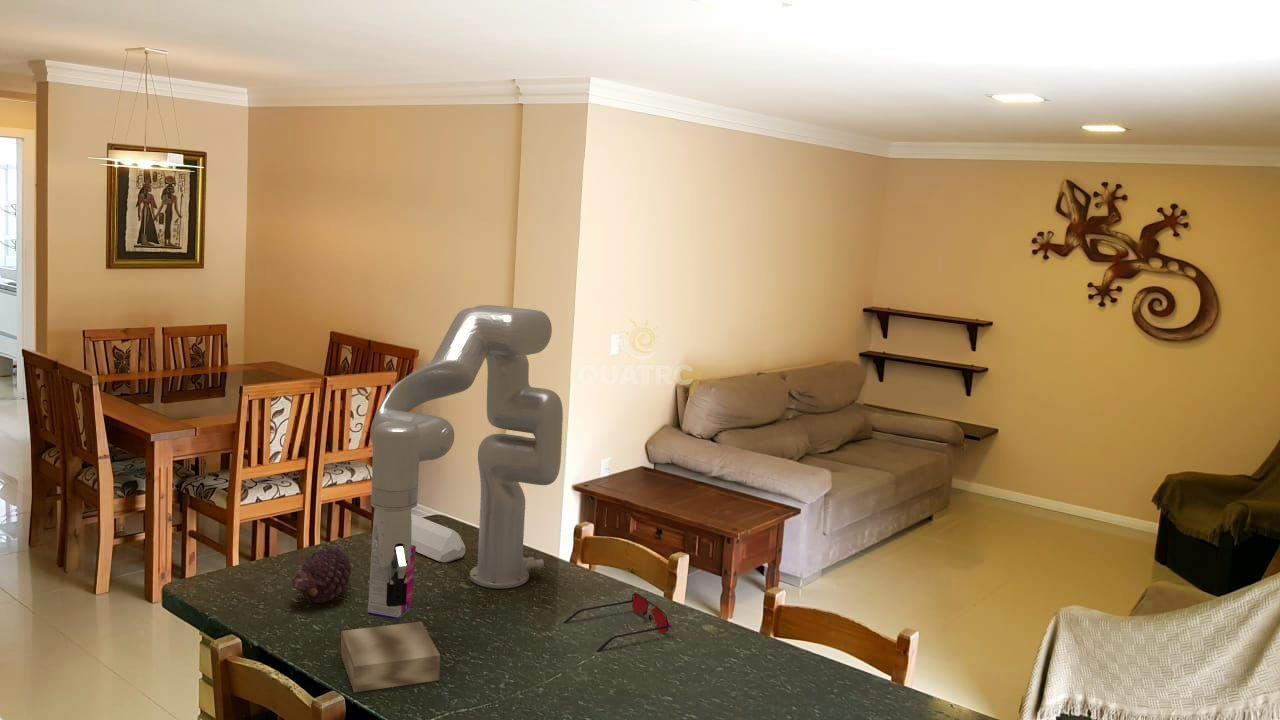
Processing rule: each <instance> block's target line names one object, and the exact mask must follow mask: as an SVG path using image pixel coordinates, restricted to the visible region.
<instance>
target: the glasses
mask: <svg viewBox="0 0 1280 720" xmlns="http://www.w3.org/2000/svg"><path fill="white" fill-rule="evenodd" d="M629 603H632V604H631V606H632V610H633V613H634V614H641V615H642V616H645V615H647V614H648V612H649V604H650V605H652V606H653V607H654V608H652V609H651V610H650V611H651V614H648V620H649V621H650V622H652V621H654V622H655V624H656V627H652V628H647V629H642V630H636V631H632V632H628V633H621V634H618V635H614V636H611V637H610V638H609V639H608V640H607V641H606V642H604V643H603V644H602V645H601V646H600V647H599V648H598V649H597V650H596V652H597V653H599V652H602V651H603V649H604V648H605V647H606V646H607V645H609V643H610V642H611V641H613V640H615V639H618V638H621V637H627V636H631V635H633V636H634V635H637V634H642V633H647V632H648V633H649V632H653V631H658V632H659V633H661V634H663V633H666V632H669V631H670V629H671V628H673V624H672V623H670V621H669V620H668V616H667V614H666V613H665V612H664V611H663V610H661V608H660V606H659V605H655V604H653V603H652V602H651V601H649V600H648V597H643V596H642V595H641V594H639V593H637V591H635V592H634V593H633V594H632V597H631V600H630V599H629V600H626V601H624V600H623V601H621V602H620V601H619V602H614V603H609V604H604V605H603V604H602V605H598V606H593V607H588V608H582V609H579V610H577V611H576V612H574V613H573V614H571V616H569V617H568V618H567V619H565V620H564V621H563V622H562V623H563V624H568V623H569V622H570V621H571V620H572V619H573V618H575V617H576V616H577V615H578V614H580V613H582V612H584V611H590V610H595V609H597V610H598V609H601V608H607V607H613V606H619V605H624V604H629Z"/></svg>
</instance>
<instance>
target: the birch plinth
mask: <svg viewBox="0 0 1280 720" xmlns="http://www.w3.org/2000/svg"><path fill="white" fill-rule="evenodd" d="M340 640H341V643H340V657H341V659H342V663H343V665H344V668H345V670H346V673H347V675H348V679H349V682H350V685H351V687H352V688H351V689H352V691H353V693H359V692H360V693H361V692H365V691H366V692H367V691H373V690H375V691H376V690H380V689H388V688H395V687H401V686H402V687H403V686H409V685H415V684H422V683H430V682H437V681H440V675H441V674H440V670H441V654H440V652H439V649H437V647H436V645H435V643H434V642H433V640H432V638H431V636H430V635H429V632H428V631H427V628H426V627H425V625H424V624H423V622H422V621H414V622H406V623H399V624H398V623H397V624H390V625H388V624H387V625H380V626H372V627H362V628H356V629H347V630H341V637H340Z"/></svg>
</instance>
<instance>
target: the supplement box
mask: <svg viewBox="0 0 1280 720" xmlns="http://www.w3.org/2000/svg"><path fill="white" fill-rule="evenodd" d="M405 561H406V559H405ZM393 564H397V562H396V560H394V561H392V562H391V565H393ZM415 566H416V546H414V545H411V559H410V564H409V565H408V566H407V570H406V573H407V600H406V604H405V605H401V606H392V607H388V606H387V604H386V599H387V583H389V574H388V567H385V569H382V568H381V567H380V566H379V565H378V563H377V550H376V548H375V549H374V550H372V549H371V554H370V572H369V585H368V587H369V588H368V603H367V605H368V607H367V615H366V616H369V617H376V618H382V619H387V620H394V621H399V620H400V618H402V617H403V616H404V615H405V614H406V613H407V612H409V611H410V610H411V609H412V608H413V598H414V597H413V596H414V581H415ZM395 572H397V569H393V576H394V573H395Z"/></svg>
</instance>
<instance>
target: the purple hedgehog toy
mask: <svg viewBox="0 0 1280 720" xmlns="http://www.w3.org/2000/svg"><path fill="white" fill-rule="evenodd" d="M351 571H352V567H351V560H350V557H348V556H347V555H346V554H344V551H343V550H341V549H340V548H337V547H336V548H331V547H330V548H328V549H321V550H320V551H319V550H318V551H317V552H313V553H312V554H311V556H309V557H307V558H306V559H305V561H304V563H303V564H302V566H301V569H297V570H296V575H295V576H294V578H292V580H291V584H292V586H293V588H295V589H297V591H298V592H300V593H303V596H304V597H306V600H307V601H308V602H311V600H312V602H313V603H315V604H316V603H326V602H328V601H330V600H331V601H332V599H333V598H338V597H339V596H340V594H341V593H342V592H345V590H346V585H348V584H349V583H350V576H351V574H352V572H351Z"/></svg>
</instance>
